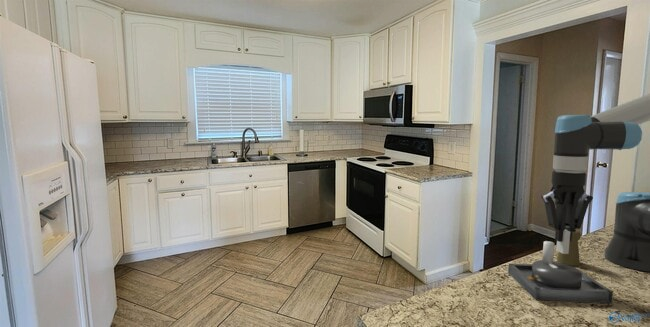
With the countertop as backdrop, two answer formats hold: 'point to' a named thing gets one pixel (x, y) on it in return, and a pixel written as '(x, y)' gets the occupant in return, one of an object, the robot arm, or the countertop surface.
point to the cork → (571, 252)
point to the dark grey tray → (540, 291)
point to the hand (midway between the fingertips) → (562, 251)
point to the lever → (555, 270)
